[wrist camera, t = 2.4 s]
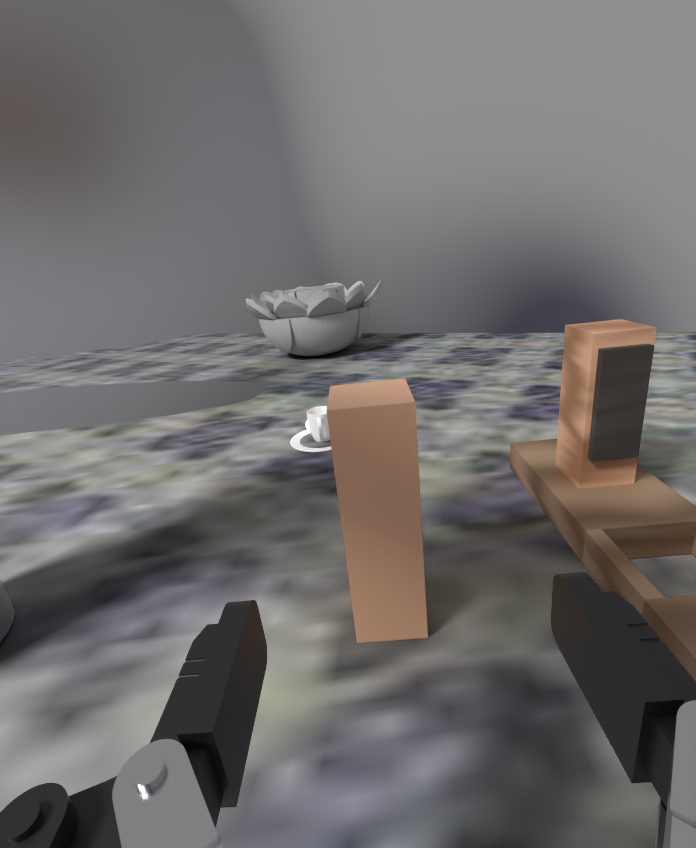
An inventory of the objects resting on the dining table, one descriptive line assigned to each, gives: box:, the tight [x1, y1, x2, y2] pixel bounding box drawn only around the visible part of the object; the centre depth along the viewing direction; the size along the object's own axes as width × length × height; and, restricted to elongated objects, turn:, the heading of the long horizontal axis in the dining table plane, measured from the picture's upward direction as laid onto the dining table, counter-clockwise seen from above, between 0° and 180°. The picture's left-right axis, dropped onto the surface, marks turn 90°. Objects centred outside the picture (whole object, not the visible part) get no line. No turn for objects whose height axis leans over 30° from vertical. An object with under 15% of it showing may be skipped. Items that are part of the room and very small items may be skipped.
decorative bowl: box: [246, 281, 381, 356], centre depth 102 cm, size 30×30×15 cm
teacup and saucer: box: [290, 406, 332, 452], centre depth 53 cm, size 9×8×4 cm
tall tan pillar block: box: [326, 379, 428, 643], centre depth 24 cm, size 5×4×14 cm
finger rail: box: [510, 319, 696, 681], centre depth 28 cm, size 24×8×14 cm, turn 0°
